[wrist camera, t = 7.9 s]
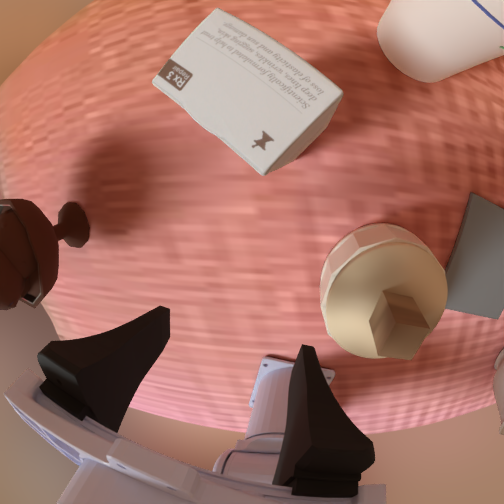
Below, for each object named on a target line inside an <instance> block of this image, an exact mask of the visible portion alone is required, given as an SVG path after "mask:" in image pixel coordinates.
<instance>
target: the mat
mask: <svg viewBox="0 0 504 504" xmlns="http://www.w3.org/2000/svg"><path fill="white" fill-rule="evenodd" d="M445 276H446V280H447V288H448V294H447V302H446V306H445V309H450V310H455V311H459V312H464V313H469V314H474V315H478V316H483V317H488V318H493V319H498V318H499V317H500V315H501V313H502V311H503V309H504V209H502V208H501V207H499V206H497V205H495V204H493V203H491V202H490V201H488V200H486V199H484V198H482V197H480V196H478V195H476V194H474V193H470V197H469V201H468V205H467V208H466V212H465V215H464V219H463V222H462V225H461V228H460V231H459V234H458V237H457V240H456V243H455V246H454V249H453V251H452V254H451V257H450V259H449V262H448V264H447V267H446V269H445Z"/></svg>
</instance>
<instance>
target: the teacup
mask: <svg viewBox="0 0 504 504" xmlns="http://www.w3.org/2000/svg"><path fill="white" fill-rule="evenodd" d="M494 366H495V369H496V370H497V371H496V373H495V375H494V379H493V391H494V395H495V399H496V403H497V406H498V410H499V413H500V418H501V427H500V429H499V433H500V434H502V435H504V348H503V350H502V351H501V352H500V354H499V355H498V357H497V359H496V361H495V365H494Z"/></svg>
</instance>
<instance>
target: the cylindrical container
mask: <svg viewBox="0 0 504 504" xmlns="http://www.w3.org/2000/svg"><path fill="white" fill-rule="evenodd" d="M377 38H378V42H379V45H380V47H381V49H382V51H383V53H384V54H385V56H386V57H387V58H388V60H389V61H390V62H391V63H392V64H393V65H394V66H395V67H396V68H397V69H398V70H400V71H401V72H402V73H404V74H405V75H407V76H409V77H411V78H413V79H415V80H418V81H421V82H425V83H434V82H439V81H441V80H443V79H446V78H448V77H450V76H452V75H455V74H457V73H459V72H462V71H464V70H467V69H469V68H472V67H474V66H477V65H479V64H482V63H484V62H487V61H489V60H492V59H495V58H497V57H500V56H503V55H504V0H391V2H390V4H389V5H388V7H387V9H386V11H385V12H384V14H383V16H382V18H381V20H380V21H379V24H378V27H377Z"/></svg>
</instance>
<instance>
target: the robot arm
mask: <svg viewBox="0 0 504 504" xmlns="http://www.w3.org/2000/svg"><path fill="white" fill-rule="evenodd" d="M169 338H170V309H169V308H166V307H163V306H158V307H157V308H155V309H153V310H151V311H149V312H147V313H146V314H144V315H142V316H140V317H138V318H136V319H134V320H132V321H130V322H128V323H126V324H124V325H122V326H119V327H117V328H115V329H112V330H110V331H107V332H104V333H101V334H97V335H93V336H89V337H85V338H80V339H73V340H63V341H51V342H50V343H49V344H48V345H47V346H45V347H44V349H42V350H41V351H40V352H39V353H38V355H37V357H38V362H39V364H40V366H41V368H42V371H43V373H44V374H45V376H46V378H47V379H46V380H45V381H44V382H43V381H42V379H41V378H40V377H38V376H37V375H36V374H35V373H34V372H32V371H31V370H30V369H26V370H25V371H24V372H23V373H22V374H21V375H20V376H19V377H18V379H17V380H16V381H15V382H14V383H13V384H12V385H11V386H10V387H9V388H8V389H7V390H6V391H5V392H4V395H5V397H6V398H7V400H8V401H9V403H10V404H11V405H12V407H13V408H14V409H15V411H16V412H17V413H18V414H19V416H20V417H21V418H22V419H23V420H24V421H25V422H26V423H27V424H28V425H29V426H30V427H31V428H33V429H34V430H35V431H36V432H37V433H38V434H39V435H40V436H42V437H43V438H44V439H45V440H46V441H48V442H49V443H50V444H51V445H52V446H53V447H55V448H56V449H57V450H58V451H60V452H61V453H62V454H64V455H65V456H66V457H68V458H69V459H70V460H72V461H73V462H74V463H76V464H77V465H78V466H79V468H78V470H77V471H76V473H75V474H74V476H73V477H72V479H71V481H70V482H69V484H68V485H67V487H66V489H65V490H64V492H63V493H62V495H61V496H60V498H59V500H58V502H57V503H56V504H386V485H385V484H372V485H362V486H359V487H358V481H360V480H361V473H362V472H363V471H365V470H366V469H367V468H369V467H370V466H371V465H372V464H373V463H374V461H375V452H374V447H373V442H372V441H371V440H370V439H369V438H368V437H366V436H365V435H364V434H363V433H362V432H361V431H360V430H359V429H358V428H357V427H356V426H355V425H354V424H353V422H352V421H351V420H350V419H349V417H348V416H347V415H346V414H345V412H344V411H343V410H342V408H341V407H340V405H339V403H338V402H337V400H336V399H335V397H334V395H333V393H332V391H331V389H330V387H329V385H330V383H331V382H332V380H333V378H334V376H335V371H334V370H330V369H325V368H321V366H320V364H319V361H318V358H317V355H316V351H315V348H314V347H312V346H308V345H303V344H302V346H301V348H300V351H299V354H298V356H297V359H296V361H295V363H294V362H289V361H285V360H280V359H276V358H271V357H263V359H262V362H261V365H260V369H259V372H258V376H257V379H256V382H255V386H254V389H253V392H252V395H251V399H250V402H249V406H250V407H252V408H253V409H252V413H251V417H250V421H249V424H248V428H247V432H246V435H245V439H244V440H237V443H236V447H235V449H227V450H226V451H225V452H223V454H222V455H220V456H219V458H218V459H217V461H216V462H215V465H214V467H213V471H209V470H206V469H203V468H199V467H196V466H193V465H190V464H187V463H184V462H182V461H179V460H176V459H173V458H171V457H168V456H166V455H163V454H161V453H158V452H156V451H153V450H151V449H149V448H146V447H144V446H142V445H140V444H138V443H136V442H133V441H131V440H129V439H127V438H125V437H123V436H121V435H119V434H117V432H118V430H119V427H120V425H121V422H122V420H123V417H124V415H125V413H126V411H127V408H128V406H129V404H130V402H131V400H132V398H133V396H134V394H135V392H136V390H137V388H138V386H139V385H140V383H141V381H142V380H143V378H144V377H145V375H146V374H147V372H148V371H149V370H150V368H151V367H152V365H153V364H154V363H155V361H156V360H157V358H158V357H159V356H160V354H161V353H162V351H163V350H164V348H165V346H166V344H167V342H168V340H169Z"/></svg>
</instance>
